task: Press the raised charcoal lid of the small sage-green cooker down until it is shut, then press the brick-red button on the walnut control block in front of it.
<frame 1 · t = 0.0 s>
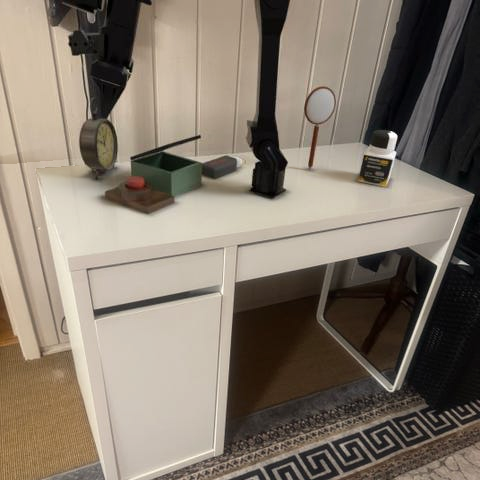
hand: (106, 112, 93), 15 cm above the table, tool pointing down, fingers open, 9 cm apart
control block: (140, 200, 97), on the table
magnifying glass: (309, 170, 122), on the table
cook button: (135, 183, 94), point 4 cm above the table, slide at 0.1 cm
cooker lid: (165, 147, 101), point 8 cm above the table, hinge at 25.0°
medicine bottle: (373, 181, 119), on the table
cooker: (167, 185, 106), on the table
usb drive: (220, 171, 116), on the table
alarm clock: (100, 173, 109), on the table
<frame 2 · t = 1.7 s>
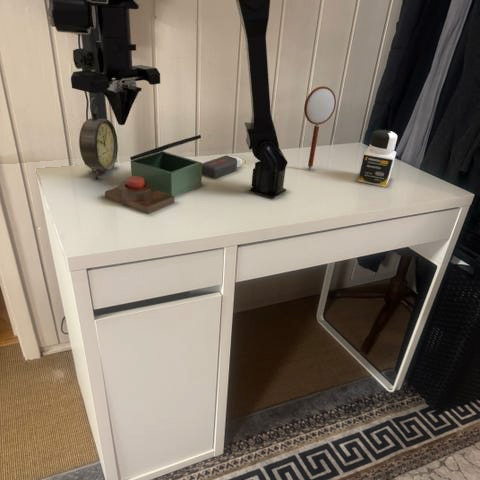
hand: (121, 124, 96), 13 cm above the table, tool pointing down, fingers closed
nothing on the table moved.
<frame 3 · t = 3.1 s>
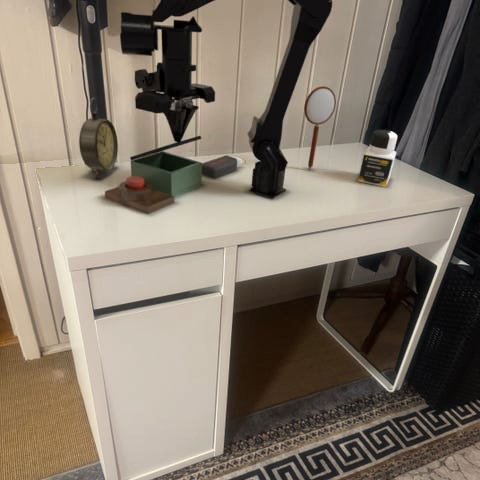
hand: (177, 141, 98), 10 cm above the table, tool pointing down, fingers closed, pressing on cooker lid
cooker lid: (165, 147, 101), point 8 cm above the table, hinge at 24.2°, touching gripper
everything else where it was.
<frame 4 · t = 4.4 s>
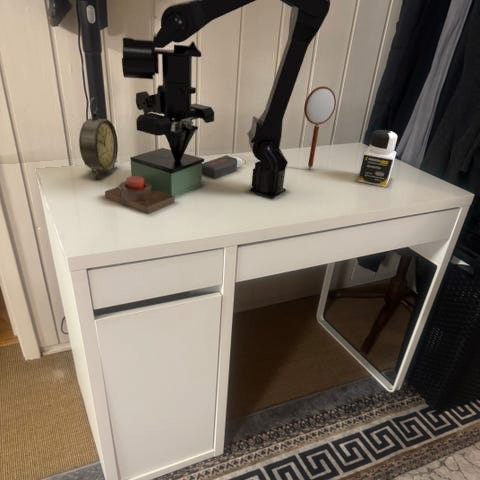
hand: (177, 160, 101), 6 cm above the table, tool pointing down, fingers closed, pressing on cooker lid
cooker lid: (167, 159, 102), point 6 cm above the table, hinge at 1.2°, touching gripper
everything else where it was.
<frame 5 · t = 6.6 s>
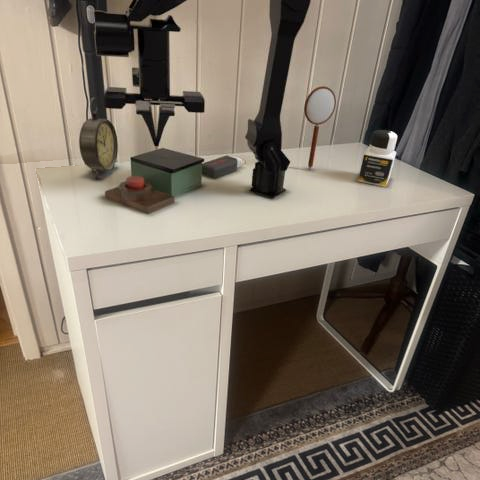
hand: (156, 145, 94), 10 cm above the table, tool pointing down, fingers closed
cooker lid: (167, 159, 102), point 6 cm above the table, hinge at 1.1°
everything else where it was.
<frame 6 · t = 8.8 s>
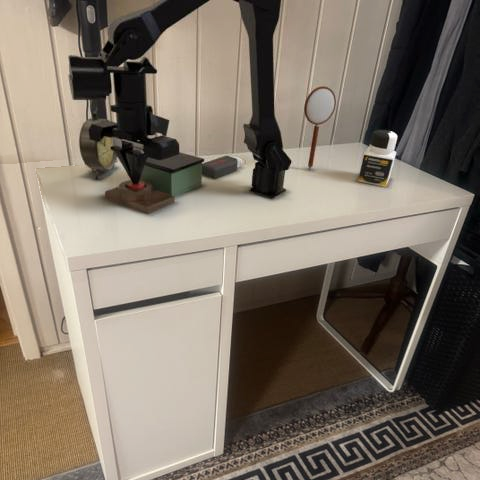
hand: (135, 183, 94), 4 cm above the table, tool pointing down, fingers closed, pressing on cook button
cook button: (135, 187, 95), point 3 cm above the table, slide at -0.8 cm, touching gripper
everything else where it was.
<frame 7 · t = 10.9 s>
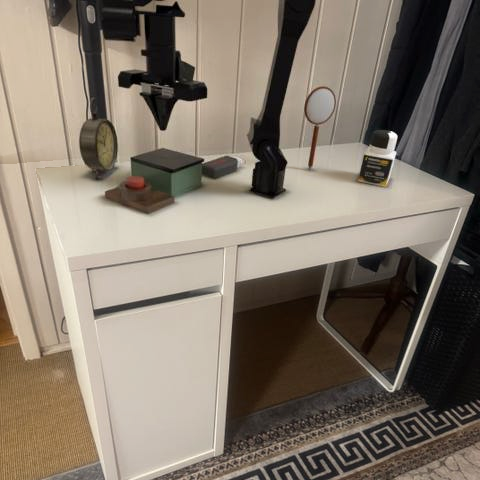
hand: (163, 130, 97), 12 cm above the table, tool pointing down, fingers closed
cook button: (135, 183, 94), point 4 cm above the table, slide at 0.1 cm
everything else where it was.
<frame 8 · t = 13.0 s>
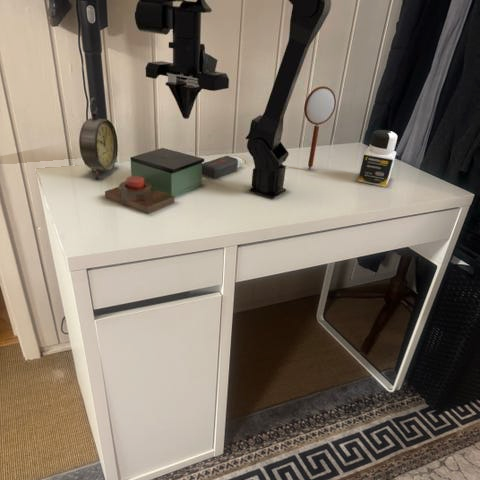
hand: (186, 118, 104), 13 cm above the table, tool pointing down, fingers closed
nothing on the table moved.
at the end: cooker lid at +1° (first picture: +25°); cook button pushed in 1.0 cm at the most during the clip, back to where it started at the end; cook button slide at 0.1 cm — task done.
